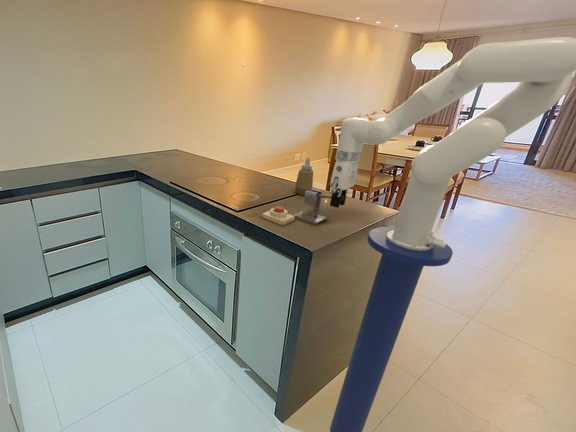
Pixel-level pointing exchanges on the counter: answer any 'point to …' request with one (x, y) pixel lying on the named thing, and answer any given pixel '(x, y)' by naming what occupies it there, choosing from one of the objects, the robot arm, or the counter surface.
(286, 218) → the control block
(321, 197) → the lever
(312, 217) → the bracket
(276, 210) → the button
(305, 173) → the squeeze bottle
